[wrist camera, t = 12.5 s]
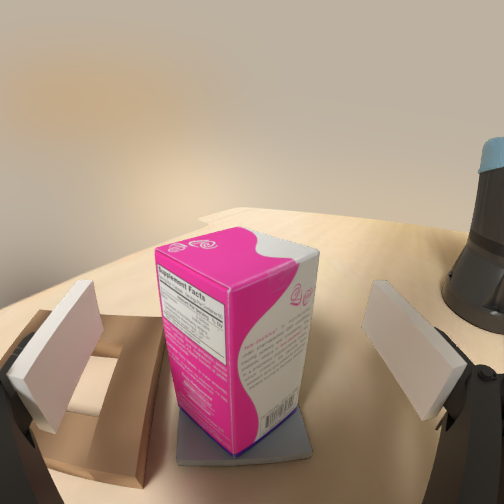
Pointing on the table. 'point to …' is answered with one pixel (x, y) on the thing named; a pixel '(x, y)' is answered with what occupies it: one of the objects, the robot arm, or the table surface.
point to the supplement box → (237, 329)
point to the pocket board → (109, 405)
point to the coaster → (266, 451)
